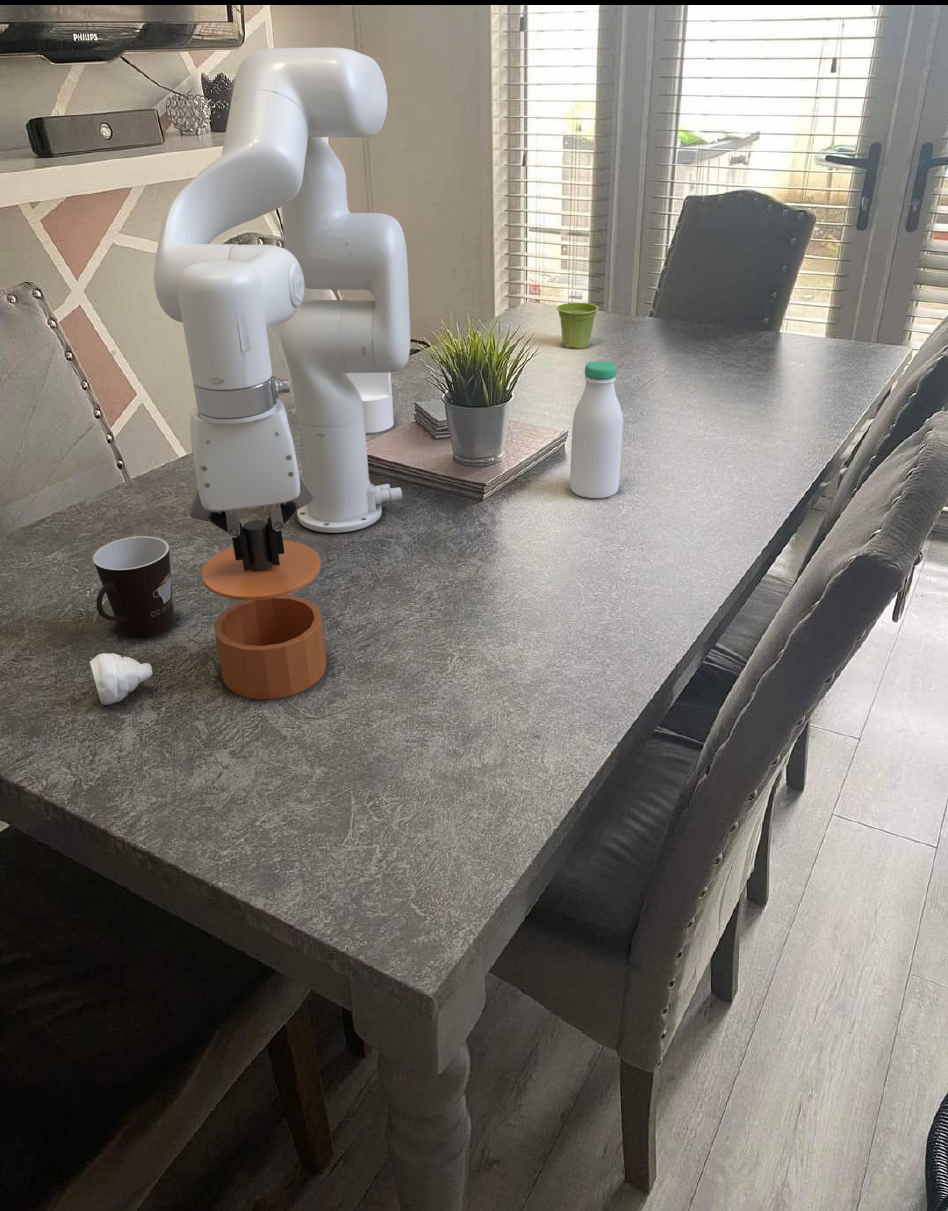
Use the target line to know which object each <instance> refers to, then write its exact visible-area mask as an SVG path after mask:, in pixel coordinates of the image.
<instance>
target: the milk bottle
mask: <svg viewBox="0 0 948 1211" xmlns="http://www.w3.org/2000/svg"><path fill="white" fill-rule="evenodd" d="M616 376H617V365H616V364H615V363H613V362H611V361H605V360H596V361H591V362H588V363H586V365H585V366H584V380H585V387H584V389H583V393H582V395H581V397H580V399H579V401H578V403H577V405H576V407H575V410H574V414H573V419H572V430H571V447H570V449H571V450H570V473H569V474H570V475H569V488H570V489H571V492H573V494H575V495H577V496H580V497H583V498H588V499H603V498H605V499H606V498H609V497H612V496H614V495H616V493H617V492H618V491H619V488H620V479H621V464H622V452H623V451H622V450H623V435H624V434H623V429H624V417H623V411H622V407H621V404H620V402H619V399H618V396H617V394H616V389H615V381H616V380H617V378H616Z"/></svg>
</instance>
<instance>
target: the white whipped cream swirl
mask: <svg viewBox="0 0 948 1211" xmlns="http://www.w3.org/2000/svg"><path fill="white" fill-rule="evenodd" d="M89 665H90V668H91V672H92V676H93V680H94V684H95V687H96V688H95V689H96V691H97V695H98V698H99V702H100V704H102V705H104V706H109V705H112V704H115V703H119V702H121V701H122V700H123V699H125V698H126V697H128V695H129V694H130V693H132V692H133V691H135V689H136V688H137V687H138V686H139V684H142V683H143V682H145V681H146V680H148V679H150V678H151V677H152V676H153V669H152V665H151V663H148V662H144V663H140V662H139V661H138V660H136V659H134V658H132V657H129V656H123V657H122V656H121V655H120V654H117V653H114V652H111V653H106V652H104V653H103V652H102V653H99V654H97V655H96V656H94V657H93V658H92V659H91V660H89Z"/></svg>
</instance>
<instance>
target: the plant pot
mask: <svg viewBox="0 0 948 1211" xmlns="http://www.w3.org/2000/svg"><path fill="white" fill-rule="evenodd" d="M556 310H557V311H558V316H559V319H560V329H561V339H562V345H563V346H564V347H565V348H568V349H572V348H574V349H585V348H588V347H589V346H590V344H591V337H592V333H593V332H592V331H593V326H594V320H595V317H596V315H597V312H598V311H599V306H598V305H597V304H594V303H588V302H566V303H562V304H558V305H557V307H556Z"/></svg>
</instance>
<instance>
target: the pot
mask: <svg viewBox="0 0 948 1211" xmlns="http://www.w3.org/2000/svg"><path fill="white" fill-rule="evenodd" d="M323 625H324V624H323V618H322V614H321V611H320V608H319V607H318V605H316V604H314V603H313V602H312V601H310V600H309V599H306V598H302V597H299V596H295V595H292V594H287V595H284V596H280V597H277V598H271V599H265V600H253V601H244V600H241V601H240V602H236V603H234V604H233V605H231V606H230V607H228V608H227V609H225V610H223V611H222V612H221V613H220V614H219V616H218V617H217V619H216V620H215V622H214V624H213V630H214V636H215V642H216V648H217V653H218V659H219V665H220V670H221V675H222V680H223V682H224V684H225V686H226V688H228V689H229V690H230V691H231V692H232V693H234V694H237V695H238V696H241V697H245V698H247V699H248V698H249V699H255V700H276V699H283V698H285V697H291V696H294V695H297V694H299V693H301V692H304V691H306V690H308V689H309V688H311V687H312V686H314V685H315V684H316V683H318V682H319V681H320V680H321V678H322V677H323V676H324V674H325V673H326V668H327V653H326V644H325V643H326V642H325V634H324V626H323Z"/></svg>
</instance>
